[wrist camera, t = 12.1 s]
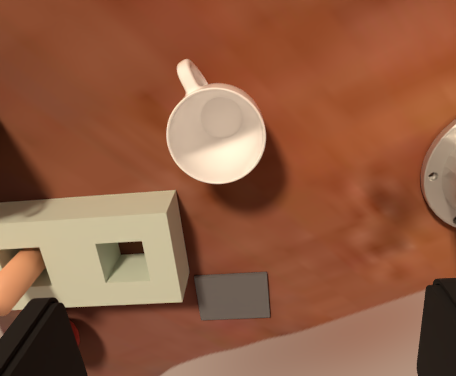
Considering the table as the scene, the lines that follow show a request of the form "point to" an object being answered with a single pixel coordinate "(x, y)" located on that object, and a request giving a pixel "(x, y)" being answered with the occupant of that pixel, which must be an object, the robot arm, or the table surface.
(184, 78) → the cup
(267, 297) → the mat
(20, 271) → the peg
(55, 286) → the socket block
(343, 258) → the table surface
